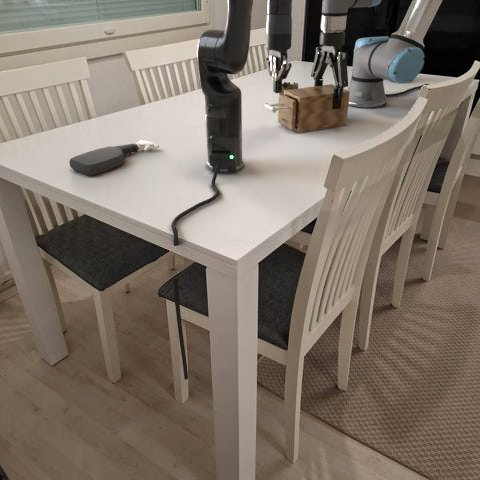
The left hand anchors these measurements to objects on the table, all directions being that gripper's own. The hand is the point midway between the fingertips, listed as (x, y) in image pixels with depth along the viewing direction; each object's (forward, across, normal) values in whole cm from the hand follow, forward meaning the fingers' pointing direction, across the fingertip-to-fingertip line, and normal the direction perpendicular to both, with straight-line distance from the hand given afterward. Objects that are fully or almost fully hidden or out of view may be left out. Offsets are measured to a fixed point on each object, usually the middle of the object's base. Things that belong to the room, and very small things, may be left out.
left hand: (277, 92), depth 138 cm
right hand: (+6, 0, -18) cm, 19 cm away
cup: (+12, +23, -17) cm, 31 cm away
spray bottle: (+12, -3, +52) cm, 53 cm away
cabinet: (+12, 0, -14) cm, 19 cm away
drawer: (+11, 0, -8) cm, 14 cm away
